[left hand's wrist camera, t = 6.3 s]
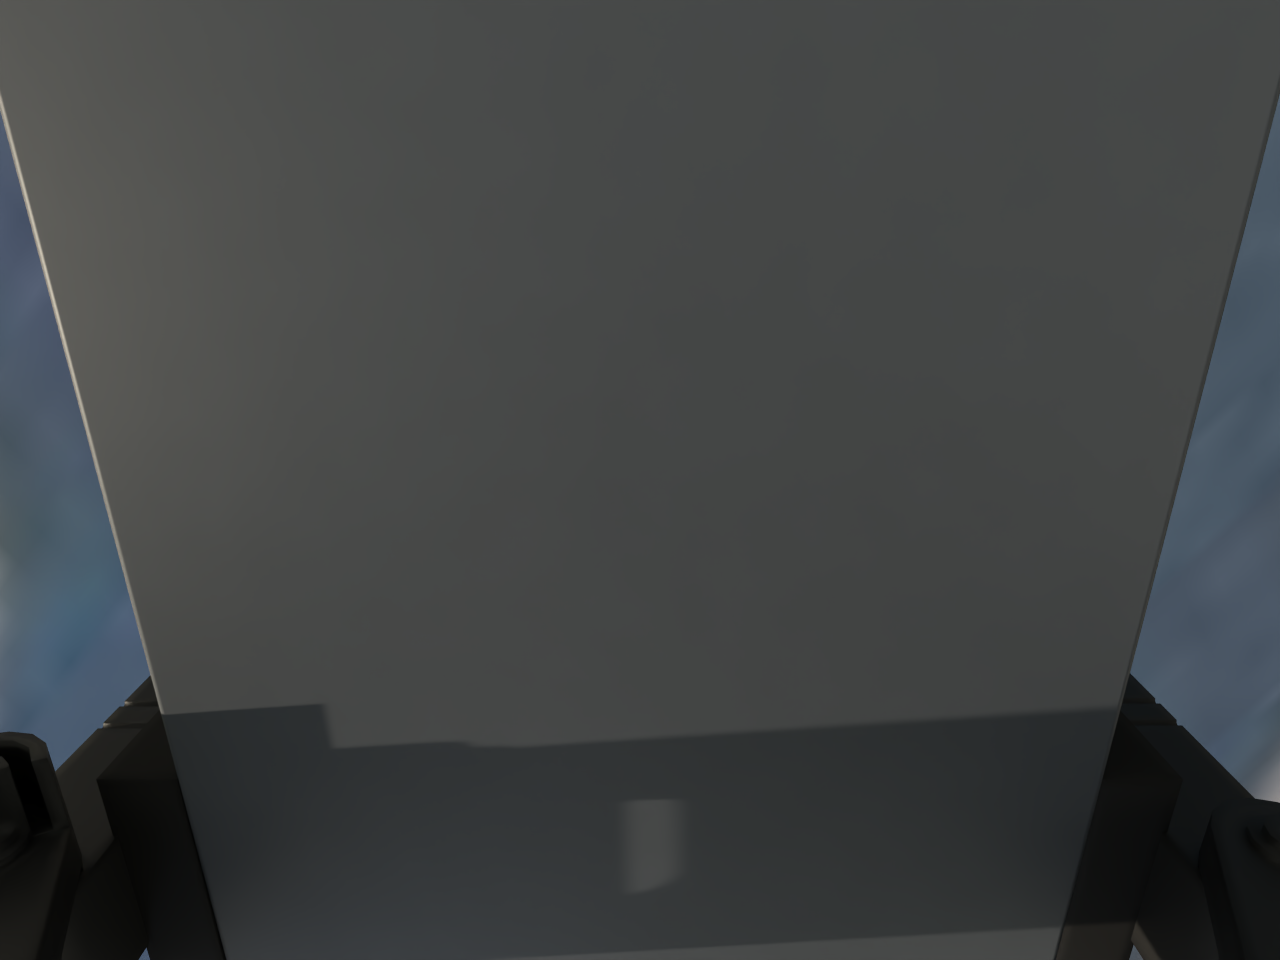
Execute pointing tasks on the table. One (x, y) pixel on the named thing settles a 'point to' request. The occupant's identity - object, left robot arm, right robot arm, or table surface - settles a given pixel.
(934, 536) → the wide beam
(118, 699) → the table surface
